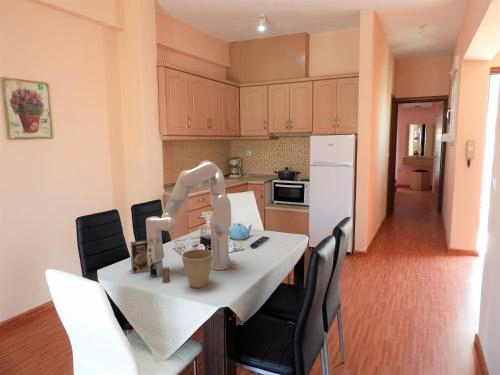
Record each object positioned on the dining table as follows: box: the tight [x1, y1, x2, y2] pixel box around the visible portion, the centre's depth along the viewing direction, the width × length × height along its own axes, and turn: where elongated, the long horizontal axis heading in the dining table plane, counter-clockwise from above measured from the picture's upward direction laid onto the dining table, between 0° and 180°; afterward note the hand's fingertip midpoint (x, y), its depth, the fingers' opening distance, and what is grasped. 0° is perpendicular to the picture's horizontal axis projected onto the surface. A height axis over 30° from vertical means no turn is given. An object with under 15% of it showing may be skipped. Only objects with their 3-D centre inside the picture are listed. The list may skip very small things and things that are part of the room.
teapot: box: [228, 222, 253, 241], centre depth 260 cm, size 15×15×11 cm
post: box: [161, 266, 171, 283], centre depth 183 cm, size 3×3×7 cm
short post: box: [182, 266, 187, 276], centre depth 193 cm, size 3×3×4 cm
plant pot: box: [181, 248, 213, 289], centre depth 177 cm, size 15×15×16 cm
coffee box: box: [129, 239, 149, 274], centre depth 199 cm, size 9×6×16 cm
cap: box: [148, 260, 164, 277], centre depth 194 cm, size 5×5×7 cm
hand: (156, 272), depth 194 cm, fingers closed on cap, 5 cm apart
